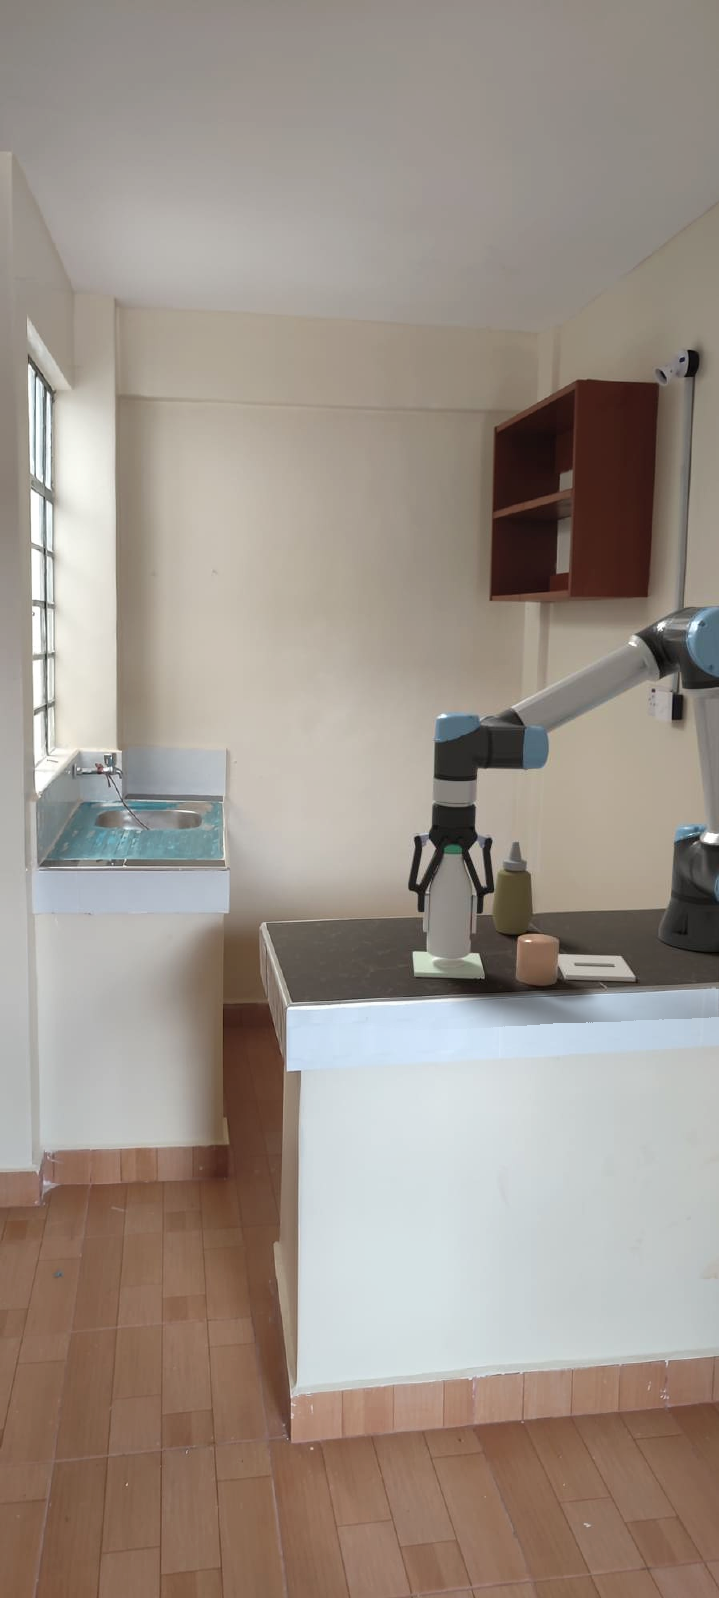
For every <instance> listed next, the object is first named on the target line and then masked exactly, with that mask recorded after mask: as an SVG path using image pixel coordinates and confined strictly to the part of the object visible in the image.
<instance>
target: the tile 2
mask: <svg viewBox="0 0 719 1598" xmlns="http://www.w3.org/2000/svg"><path fill="white" fill-rule="evenodd" d="M558 969H560V973H562V976H563V978H564V979H565V980H568V981H569V980H570V981H571V980H572V981H573V980H577V981H601V982H602V981H603V982H604V981H605V982H609V981H610V982H636V975H635V974H634V973H633V971H632V970H631V968H630V967H629V965H628V964H627V963H626V961H625V960H624V958H623V957H622V956H621V955H598V954H597V955H596V954H592V955H591V954H569V953H568V954H566V953H563V954H561V953H558Z"/></svg>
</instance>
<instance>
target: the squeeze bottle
mask: <svg viewBox="0 0 719 1598" xmlns="http://www.w3.org/2000/svg"><path fill="white" fill-rule="evenodd" d="M527 864H528V861H527V860H526V859H523V858H522V853H521V847H520V842H519V841H512V844H511V846H510V851H509V855H508V858H504V859H503V860H502V869H500V870H499V871H497V875H496V882H495V886H494V889H495V890H494V893H493V894H494V896H493V902H492V906H491V907H492V909H491V916H492V918H493V922H494V926H495V929H496V932H498V933H501V934H504V935H512V936H513V935H514V936H515V935H524V934H525V933H527V930H528V928H529V926H530V923H531V920H532V918H533V915H534V909H533V907H534V906H533V890H532V874H531V873H530V871H528V870H527Z"/></svg>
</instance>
